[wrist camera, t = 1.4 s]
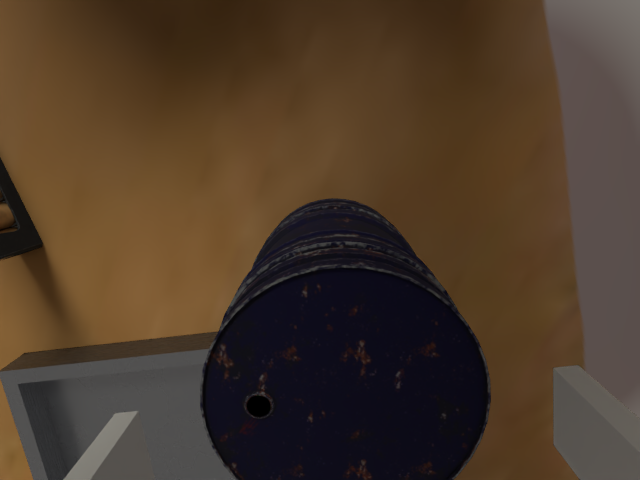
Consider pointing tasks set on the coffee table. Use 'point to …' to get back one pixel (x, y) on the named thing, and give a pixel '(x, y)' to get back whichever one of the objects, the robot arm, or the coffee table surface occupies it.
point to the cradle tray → (114, 404)
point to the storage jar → (343, 359)
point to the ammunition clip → (14, 221)
